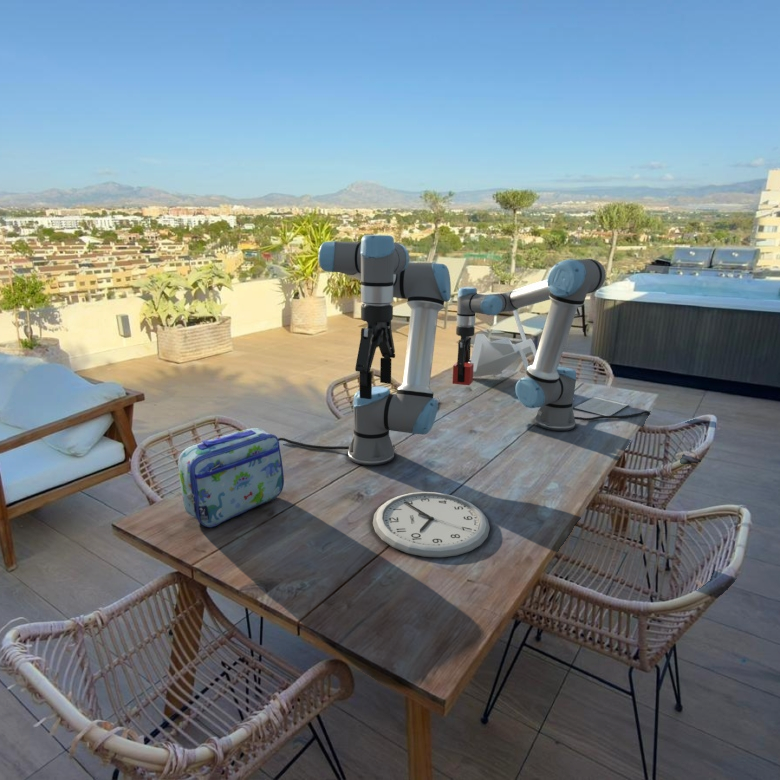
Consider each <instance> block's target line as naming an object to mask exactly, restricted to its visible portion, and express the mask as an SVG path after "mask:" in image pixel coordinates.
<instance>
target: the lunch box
mask: <svg viewBox="0 0 780 780" xmlns="http://www.w3.org/2000/svg"><path fill="white" fill-rule="evenodd" d="M278 438H279V437H278V436H277V435H275V434H272V433H268V432H267V431H265V430H263V429H262V428H260V427H259V428H257V427H253V428H252V427H251V428H247V429H243V430H238V431H235V432H232V433H228V434H225V435H221V436H218V437H215V438H211V439H208V440H202V441H201V442H199V443H197V444H193V445H190V446H188V447H186V448H185V449H184V450H182V452H181V453H180V454H179V457H178V461H177V468H178V476H179V483H180V484H179V485H180V490H181V496H182V502H183V507H184V510H185V512H186V513H187V514H188V515H190V517H193V518H194V519H196V520H197V522H199V524H201V526H203V527H206V528H213V527H214V528H215V527H216V526H219V525H220V524H222V523H224V522H226V521H228V520H230V519H232V518H234V517H237V516H239V515H241V514H243V513H246V512H247V511H249V510H252V509H254V508H256V507H258V506H260V505H263V504H266V503H268V502H271V501H272V500H274V499H276V498H277V497H279V496H280V495H281V493H282V491H283V489H284V485H285V477H284V469H283V468H284V466H283V459H282V452H281V446H280V441H279V440H278Z"/></svg>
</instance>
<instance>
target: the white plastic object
mask: <svg viewBox="0 0 780 780" xmlns="http://www.w3.org/2000/svg"><path fill="white" fill-rule="evenodd" d="M512 314H513V316H514V319H515V322H516V325H517V328H518V331H519V334H520V338H521V341H520V342H517V343H513V342H512V341H511V339H510V338H509V337H505V338H500V339H495V340H490V339H489V338H488V337H487V336H486V334H485V333H476V334H475V338H474V342H473V347H472V351H471V355H470V360H471V362H468V363H474V367H473V378H477V377H484V376H493V377H495V376H498V375H502V374H503V371H504V370H505V369H507V368H509V367H510V366H511V365H512V364H515V362H517V361H518V360H520V359H521V361H522V364H523V367H524V370H525V372H526V371H527V368H528V366H530V365H529V362H528V358H527V355H528V354H531V353H532V355H533V357H534V358H533V359H535V356H536V353H537V347H536V344H535V343H534V341H533V339H532V338H530V337H529V338H527V337H526V334H525V331H524V327H523V325H522V322H521V318H520V315H519V313H518V311H517V310H514V311H512Z"/></svg>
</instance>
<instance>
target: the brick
mask: <svg viewBox="0 0 780 780" xmlns="http://www.w3.org/2000/svg"><path fill="white" fill-rule="evenodd" d="M460 364H461V363H460ZM456 365H457V362H455V363H454V364H453V365H452V384H453V385H462V386H470V385H471V384H472V383H473V381H474V377H473V367H474V363H465V366H464V367H465V377H464V382H457V381H458V367H456Z"/></svg>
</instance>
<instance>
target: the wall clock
mask: <svg viewBox="0 0 780 780" xmlns="http://www.w3.org/2000/svg"><path fill="white" fill-rule="evenodd" d="M372 526H373V529H374V532H375V534H376V535H377V536H378V537H379V538H380V539H381V540H382V542H384V543H386V544H387V545H389V546H390V547H392V548H393V549H396V550H398V551H401V552H404V553H406V554H409V555H414V556H420V557H427V558H447V557H455V556H460V555H463V554H466V553H469V552H471V551H473V550H476V549H477V548H478V547H480V546H481V545H483V544H484V542H485V541H486V540H487V538H488V537H489V533H490V523H489V519H488V517H487V516H486V515H485V513H484V512H483V511H482V510H481V509H480V508H478V507H477V506H476V505H474V504H473V503H471V502H469V501H468V500H465V499H463V498H461V497H459V496H455V495H451V494H449V493H441V492H432V491H418V492H409V493H405V494H401V495H398V496H395V497H393V498H390V499H388V500H386V501H385V502H384V503H383V504H382V505H380V506H379V507H378V508H377V510H376V511H375V512H374V514H373V519H372Z"/></svg>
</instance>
